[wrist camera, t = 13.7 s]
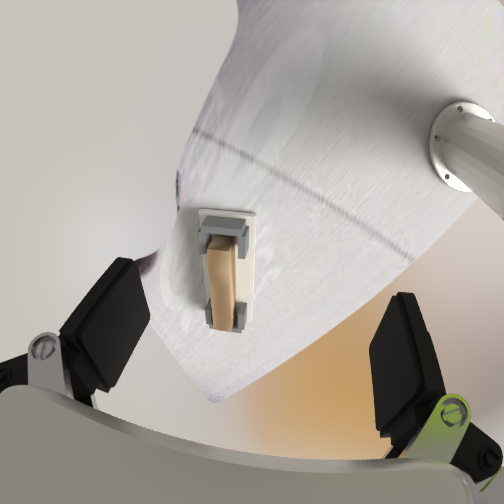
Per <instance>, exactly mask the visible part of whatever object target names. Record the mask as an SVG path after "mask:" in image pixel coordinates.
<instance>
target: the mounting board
mask: <svg viewBox="0 0 504 504" xmlns="http://www.w3.org/2000/svg"><path fill="white" fill-rule="evenodd" d="M199 226H200V229H199V230H198V232H197V233H198V245H199V254H202V265H203V276H204V287H205V297H206V308H205V316H206V324H209V326H210V328H212V329H214V328H213V318H212V307H211V295H210V283H209V271H208V257H207V248H208V246H209V244H210V243H211V241H212V239H213V237H214V235H215V234H219V235H228V236H235V256H236V317H235V320H234V324H233V327H232V331H231V332H236V333H241V331H242V330H244V327H245V323H251V321H252V306H253V283H254V259H255V235H256V214H255V213H245V212H234V211H223V210H212V209H200V210H199Z"/></svg>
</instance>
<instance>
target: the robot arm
mask: <svg viewBox="0 0 504 504" xmlns="http://www.w3.org/2000/svg"><path fill="white" fill-rule="evenodd" d="M435 136H436V138H435ZM429 151H430V157H431V161H432V164H433V166H434V169H435V171H436V172H437V174H438V175H439V177H440V178H441V179H442V180H443V181H444V182H445V183H446V184H448V185H449V186H450V187H452V188H454V189H456V190H459V191H464V192H470V191H473V192H474V193H475V194H476V195H477V196H478V197H479V198H481V199H482V200H483V201H484V202H485V203H486V204H487V205H488V206H489V207H490V208H491V209H492V210H494V211H495V212H496V213H497V214H498V215H499V216H500V217H501V218H502V219H503V220H504V125H502V124H499V123H496V122H495V121H494V119H493V118H492V116H491V115H490V114H489V113H488V112H487V111H486V110H485V109H484V108H482V107H481V106H479V105H477V104H474V103H471V102H465V101H462V102H455V103H453V104H450V105H448V106H447V107H445V108H444V109H443V110H442V111H441V112H440V113H439V114H438V116H437V118H436V119H435V121H434V123H433V126H432V128H431V132H430V137H429ZM445 174H446V175H445ZM149 320H150V312H149V308H148V305H147V301H146V297H145V294H144V290H143V286H142V282H141V278H140V274H139V270H138V266H137V264H135V263H134V261H133V260H132V259H128V258H121V257H118V258H116V259H115V261H114V262H113V263H112V264H111V265H110V266H109V268H108V269H107V270H106V271H105V272H104V274H103V275H102V276H101V277H100V279H99V280H98V281H97V282H96V283H95V285H94V286H93V287H92V288H91V289H90V291H89V292H88V293H87V295H86V296H85V297H84V298H83V300H82V301H81V302H80V304H79V305H78V306H77V308H76V309H75V310H74V312H73V313H72V314H71V315H70V317H69V318H68V320H67V321H66V322H65V323H64V325H63V326H62V328H61V329H60V330H59V332H60V335H59V336H57V335H56V334H54V333H50V332H46V333H42V334H40V335H38V336H37V337H35V338H34V339H33V340H32V341H31V343H30V345H29V347H28V353H26V354H24V355H21V356H18V357H15V358H13V359H10V360H7V361H4V362H1V363H0V504H504V466H503V467H502V466H501V464H502V460H503V455H502V450H501V448H500V446H499V445H498V444H497V443H496V442H495V441H494V440H492V439H491V438H490V437H489V436H488V435H486V434H485V433H484V432H483V431H481V430H480V429H479V428H478V427H476V426H475V425H474V424H473V423H471V422H470V419H471V410H470V407H469V405H468V403H467V401H466V400H465V399H464V398H463V397H461V396H459V395H457V394H452V393H451V394H446V391H445V387H444V382H443V378H442V375H441V370H440V367H439V363H438V359H437V356H436V353H435V349H434V346H433V343H432V340H431V336H430V334H429V332H428V331H427V329H426V326H425V323H424V320H423V317H422V314H421V311H420V308H419V306H418V303H417V300H416V297H415V295H414V294H413V293H407V292H398V293H397V295H396V296H392V298H391V300H390V302H389V305H388V307H387V309H386V311H385V314H384V316H383V318H382V320H381V322H380V325H379V327H378V329H377V331H376V333H375V335H374V337H373V339H372V341H371V343H370V347H369V356H370V364H371V373H372V383H373V394H374V406H375V422H376V429H377V430H378V431H380V438H385V437H391V447H390V448H389V449H388V451H387V452H386V453H385V455H384V456H383V457H382V458H381V459H373V460H318V459H300V458H288V457H278V456H269V455H261V454H254V453H247V452H240V451H235V450H230V449H224V448H219V447H214V446H209V445H205V444H201V443H196V442H193V441H189V440H185V439H181V438H177V437H174V436H170V435H167V434H163V433H160V432H157V431H153V430H150V429H147V428H144V427H141V426H138V425H135V424H133V423H130V422H127V421H125V420H122V419H119V418H117V417H114V416H111V415H109V414H107V413H104V412H102V411H99V410H98V407H97V404H96V400H95V395H94V392H95V390H96V388H97V389H99V390H101V391H104V392H107V393H108V392H109V390H110V388H111V387H114V386H115V385H116V383H117V381H118V379H119V377H120V375H121V373H122V371H123V369H124V367H125V366H126V364H127V362H128V360H129V358H130V356H131V354H132V352H133V350H134V348H135V347H136V345H137V343H138V341H139V339H140V337H141V335H142V333H143V332H144V330H145V328H146V326H147V324H148V323H149Z"/></svg>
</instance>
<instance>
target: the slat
mask: <svg viewBox="0 0 504 504" xmlns="http://www.w3.org/2000/svg"><path fill="white" fill-rule="evenodd" d="M207 257H208V271H209V283H210V295H211V307H212V318H213V328H214V329H215V330H221V331H228V332H231V331H232V327H233V324H234V320H235V317H236V256H235V236H228V235H219V234H215V235H214V237H213V239H212V241H211V243H210V244H209V246H208V248H207Z"/></svg>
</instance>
